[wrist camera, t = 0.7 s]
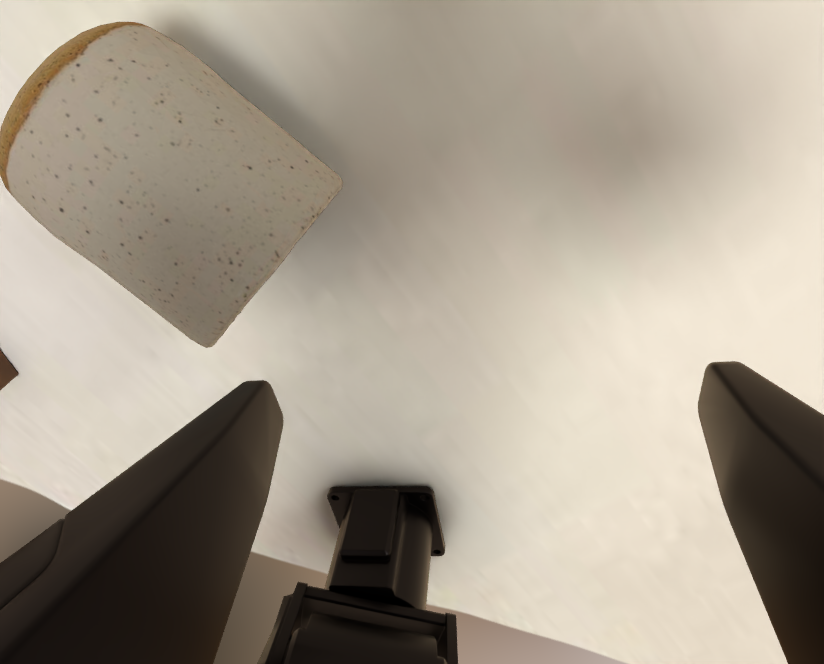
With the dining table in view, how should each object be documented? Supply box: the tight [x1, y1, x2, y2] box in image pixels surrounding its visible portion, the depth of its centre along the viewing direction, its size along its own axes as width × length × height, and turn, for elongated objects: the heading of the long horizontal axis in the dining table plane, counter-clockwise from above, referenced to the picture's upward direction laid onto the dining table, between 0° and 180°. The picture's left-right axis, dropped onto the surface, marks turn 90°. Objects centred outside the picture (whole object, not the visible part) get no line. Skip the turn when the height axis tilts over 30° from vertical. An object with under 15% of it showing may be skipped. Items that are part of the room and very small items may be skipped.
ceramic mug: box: [0, 22, 343, 348], centre depth 18 cm, size 11×8×8 cm
